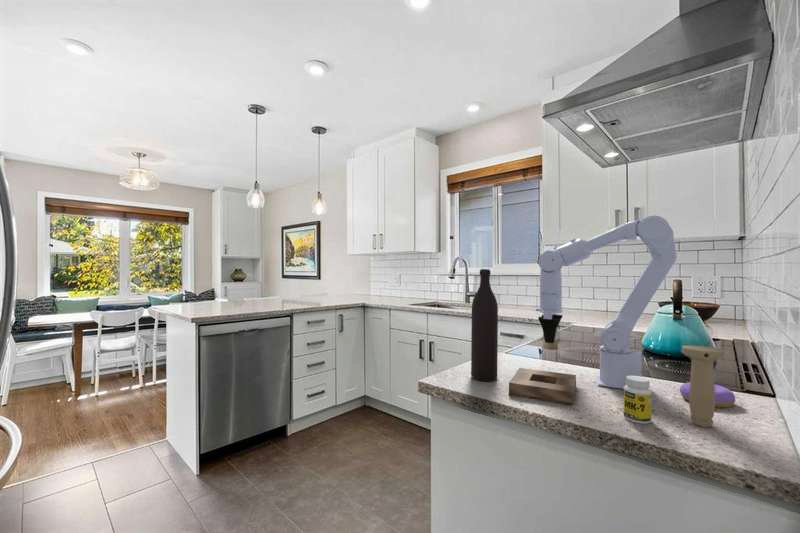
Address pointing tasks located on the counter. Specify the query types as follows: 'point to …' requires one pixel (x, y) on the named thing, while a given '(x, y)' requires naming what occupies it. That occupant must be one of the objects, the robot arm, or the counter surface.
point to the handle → (702, 383)
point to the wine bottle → (484, 331)
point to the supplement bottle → (637, 400)
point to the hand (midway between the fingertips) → (550, 341)
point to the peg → (551, 345)
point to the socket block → (543, 386)
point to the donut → (721, 395)
